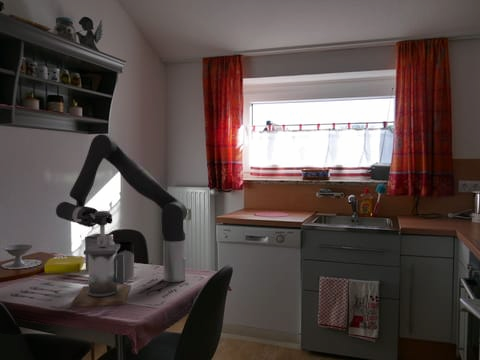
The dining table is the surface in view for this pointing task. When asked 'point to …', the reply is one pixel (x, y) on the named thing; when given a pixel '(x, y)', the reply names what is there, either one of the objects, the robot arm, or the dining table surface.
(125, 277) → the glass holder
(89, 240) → the coffee box
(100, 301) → the board
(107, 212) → the plunger
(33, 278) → the dining table surface
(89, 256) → the press
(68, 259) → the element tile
